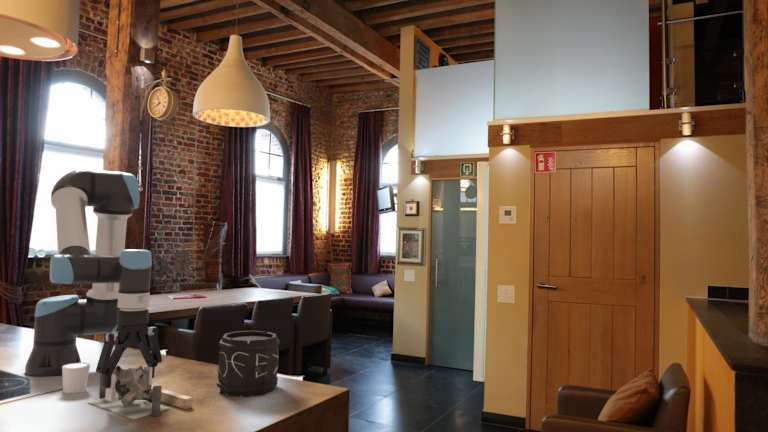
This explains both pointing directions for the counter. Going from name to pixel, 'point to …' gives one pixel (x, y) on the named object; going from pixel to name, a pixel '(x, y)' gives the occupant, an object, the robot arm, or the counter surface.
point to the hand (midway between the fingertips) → (128, 395)
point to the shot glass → (75, 377)
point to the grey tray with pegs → (142, 403)
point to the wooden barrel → (248, 363)
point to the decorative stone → (132, 385)
